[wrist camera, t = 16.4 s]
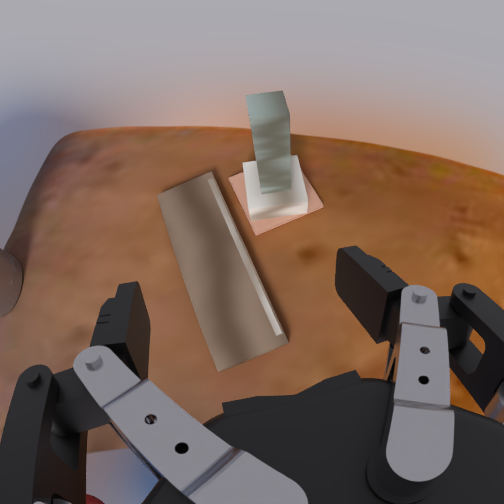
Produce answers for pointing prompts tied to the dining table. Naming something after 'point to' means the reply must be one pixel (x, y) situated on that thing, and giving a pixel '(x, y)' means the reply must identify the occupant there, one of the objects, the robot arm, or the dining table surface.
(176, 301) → the dining table surface
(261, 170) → the tall grey square pillar
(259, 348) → the grey-brown board
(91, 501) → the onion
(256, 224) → the end pad
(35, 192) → the dining table surface
